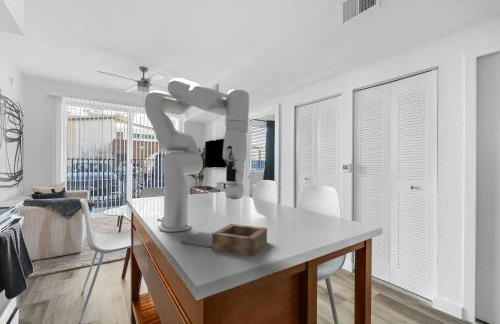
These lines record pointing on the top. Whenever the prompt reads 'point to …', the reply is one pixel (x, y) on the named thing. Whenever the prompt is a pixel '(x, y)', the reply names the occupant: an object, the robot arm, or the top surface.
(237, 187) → the plastic bottle
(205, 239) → the mat
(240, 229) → the square wooden tray
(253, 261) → the top surface
